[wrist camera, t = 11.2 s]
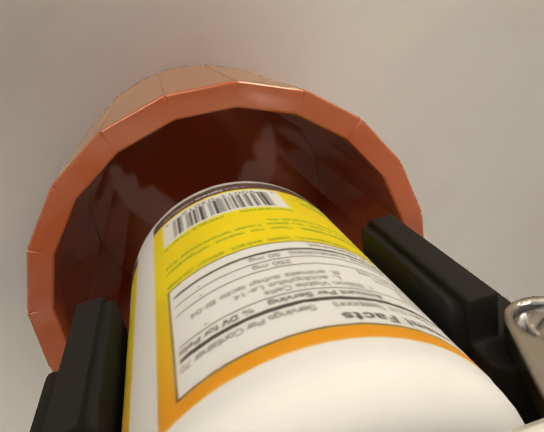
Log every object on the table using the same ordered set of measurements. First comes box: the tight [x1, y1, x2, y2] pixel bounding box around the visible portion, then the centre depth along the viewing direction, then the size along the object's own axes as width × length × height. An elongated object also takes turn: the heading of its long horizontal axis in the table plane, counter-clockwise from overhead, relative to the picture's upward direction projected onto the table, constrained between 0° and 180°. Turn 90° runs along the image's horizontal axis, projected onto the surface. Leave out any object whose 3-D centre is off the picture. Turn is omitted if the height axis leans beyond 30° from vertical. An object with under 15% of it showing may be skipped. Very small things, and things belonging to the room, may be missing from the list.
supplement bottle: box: [121, 181, 525, 432], centre depth 9 cm, size 6×6×10 cm
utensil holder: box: [27, 65, 423, 372], centre depth 17 cm, size 10×10×8 cm
